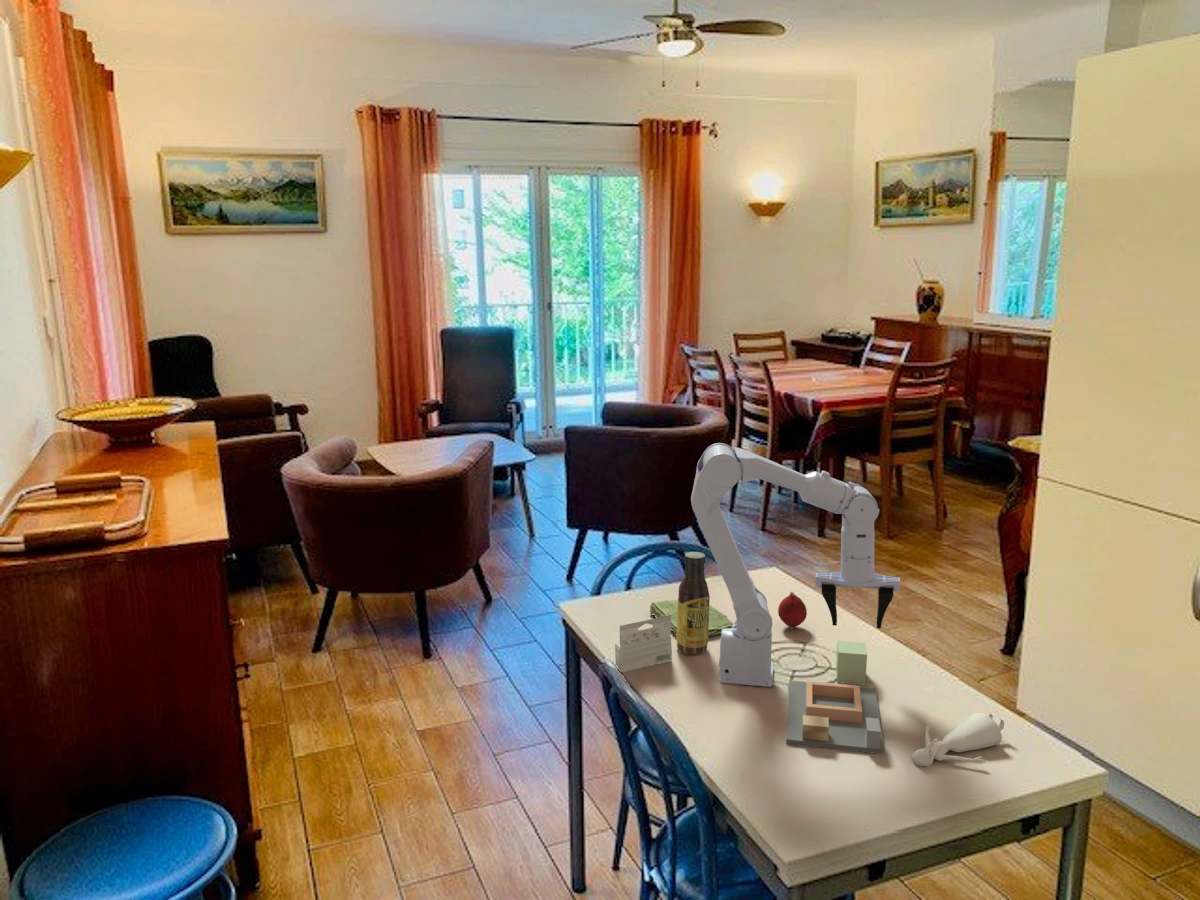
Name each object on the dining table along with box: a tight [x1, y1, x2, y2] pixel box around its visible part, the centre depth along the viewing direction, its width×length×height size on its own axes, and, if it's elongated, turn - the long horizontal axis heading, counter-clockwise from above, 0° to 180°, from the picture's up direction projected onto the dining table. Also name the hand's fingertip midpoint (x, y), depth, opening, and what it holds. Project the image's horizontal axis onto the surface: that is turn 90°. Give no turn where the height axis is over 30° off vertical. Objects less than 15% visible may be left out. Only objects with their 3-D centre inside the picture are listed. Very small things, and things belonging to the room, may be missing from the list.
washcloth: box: [649, 598, 734, 637], centre depth 186 cm, size 13×18×3 cm
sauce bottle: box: [676, 551, 711, 656], centre depth 172 cm, size 7×6×20 cm
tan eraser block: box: [802, 715, 829, 741], centre depth 140 cm, size 4×3×2 cm
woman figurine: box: [911, 712, 1005, 767], centre depth 137 cm, size 12×4×18 cm
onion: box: [777, 590, 808, 629], centre depth 182 cm, size 6×6×8 cm
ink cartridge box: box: [614, 615, 673, 673], centre depth 167 cm, size 2×11×10 cm, turn 113°
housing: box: [785, 680, 885, 755], centre depth 147 cm, size 15×20×4 cm
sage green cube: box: [835, 640, 868, 686], centre depth 161 cm, size 5×5×6 cm
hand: (856, 624), depth 159 cm, fingers open, 7 cm apart
